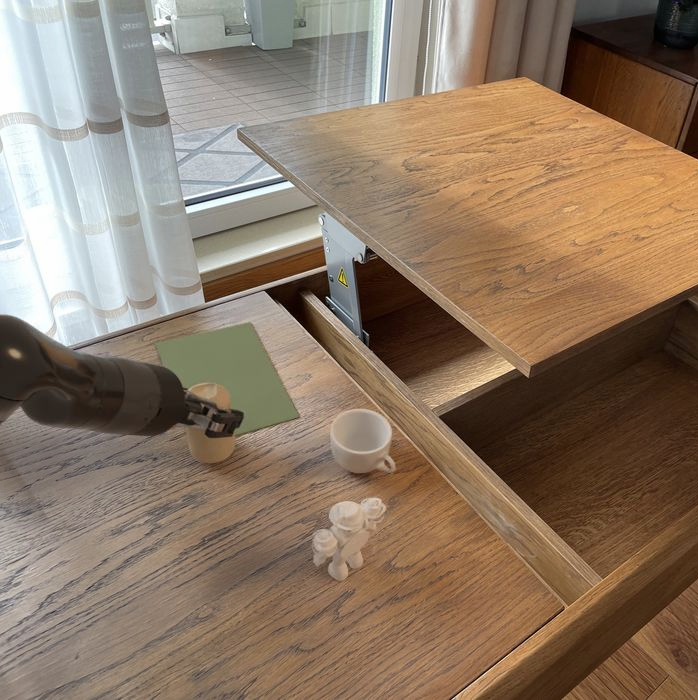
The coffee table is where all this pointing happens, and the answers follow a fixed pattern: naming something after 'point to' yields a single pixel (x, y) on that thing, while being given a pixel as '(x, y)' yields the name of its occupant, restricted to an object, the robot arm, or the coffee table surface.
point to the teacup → (361, 441)
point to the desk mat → (232, 372)
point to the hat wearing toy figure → (346, 535)
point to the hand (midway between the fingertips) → (218, 409)
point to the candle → (197, 440)
